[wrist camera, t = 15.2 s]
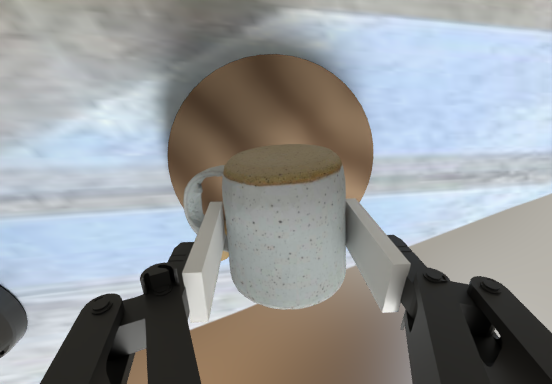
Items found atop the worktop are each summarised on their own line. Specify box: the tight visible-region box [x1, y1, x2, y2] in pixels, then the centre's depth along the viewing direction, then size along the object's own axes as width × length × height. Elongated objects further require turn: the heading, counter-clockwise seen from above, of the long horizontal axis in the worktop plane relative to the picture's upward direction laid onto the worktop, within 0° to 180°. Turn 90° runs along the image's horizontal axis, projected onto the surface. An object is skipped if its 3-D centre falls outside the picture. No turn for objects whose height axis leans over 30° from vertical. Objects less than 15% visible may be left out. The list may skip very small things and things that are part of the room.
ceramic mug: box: [183, 144, 346, 309], centre depth 16 cm, size 11×8×8 cm
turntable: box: [168, 54, 373, 261], centre depth 25 cm, size 21×21×6 cm
